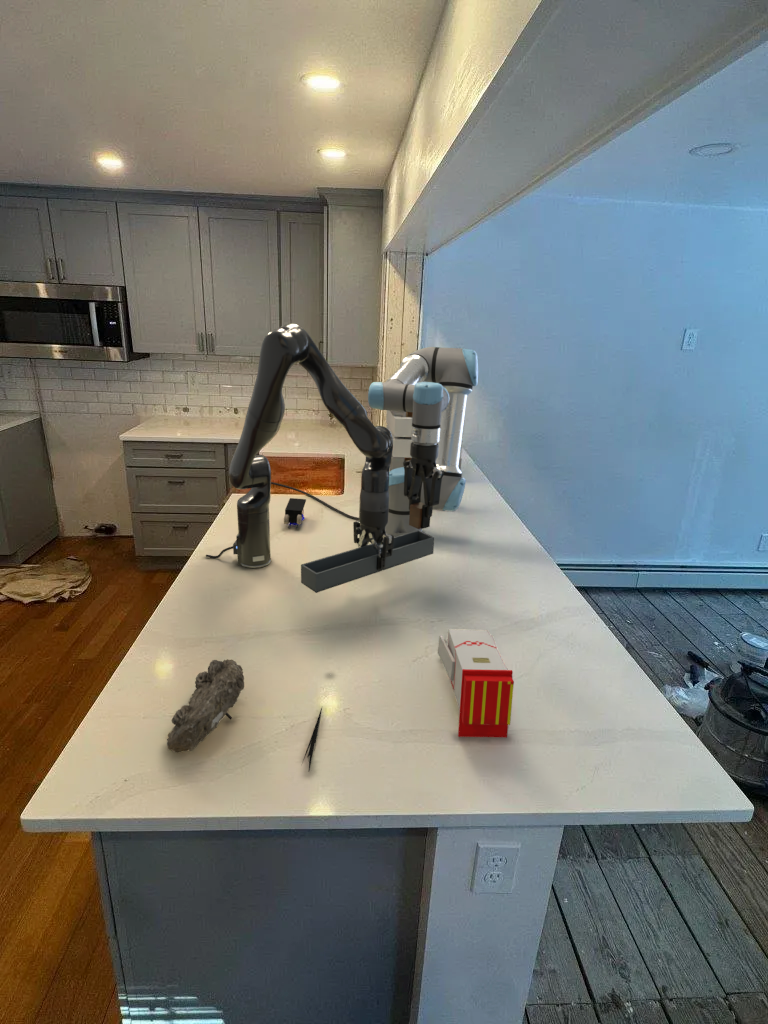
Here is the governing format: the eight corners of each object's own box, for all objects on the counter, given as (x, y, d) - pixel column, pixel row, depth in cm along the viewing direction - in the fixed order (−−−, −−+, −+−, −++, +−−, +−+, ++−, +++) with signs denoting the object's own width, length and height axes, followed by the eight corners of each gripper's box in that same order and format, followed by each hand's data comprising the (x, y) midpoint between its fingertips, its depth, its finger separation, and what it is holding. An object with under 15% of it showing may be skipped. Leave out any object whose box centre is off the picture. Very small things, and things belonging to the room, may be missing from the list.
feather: (331, 679, 122) (336, 673, 122) (307, 777, 96) (313, 769, 95) (324, 675, 122) (329, 669, 121) (298, 772, 95) (304, 764, 95)
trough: (300, 582, 140) (300, 564, 139) (417, 545, 165) (418, 530, 164) (316, 593, 136) (316, 574, 134) (433, 553, 161) (434, 537, 159)
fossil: (192, 660, 117) (244, 628, 112) (224, 691, 120) (276, 661, 115) (142, 746, 98) (202, 712, 93) (182, 779, 101) (242, 748, 96)
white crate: (382, 463, 289) (386, 382, 275) (445, 464, 293) (451, 384, 279) (390, 482, 257) (394, 392, 243) (460, 483, 261) (468, 394, 247)
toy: (488, 613, 130) (523, 677, 101) (484, 667, 133) (517, 744, 104) (435, 612, 130) (455, 676, 101) (432, 666, 133) (451, 743, 103)
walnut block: (408, 525, 158) (410, 504, 156) (419, 522, 161) (420, 502, 159) (418, 529, 155) (420, 508, 153) (429, 526, 158) (430, 506, 156)
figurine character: (302, 534, 199) (307, 515, 212) (302, 515, 195) (306, 496, 209) (283, 533, 199) (289, 514, 212) (282, 514, 195) (288, 496, 209)
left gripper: (345, 500, 147) (344, 558, 153) (381, 516, 137) (378, 578, 143) (367, 495, 152) (365, 552, 158) (403, 510, 142) (400, 570, 148)
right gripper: (392, 437, 154) (388, 518, 162) (438, 451, 142) (431, 537, 150) (412, 434, 158) (408, 513, 166) (458, 447, 146) (450, 531, 154)
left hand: (371, 564), depth 150 cm, fingers closed on trough, 6 cm apart
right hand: (419, 524), depth 158 cm, fingers closed on walnut block, 4 cm apart
